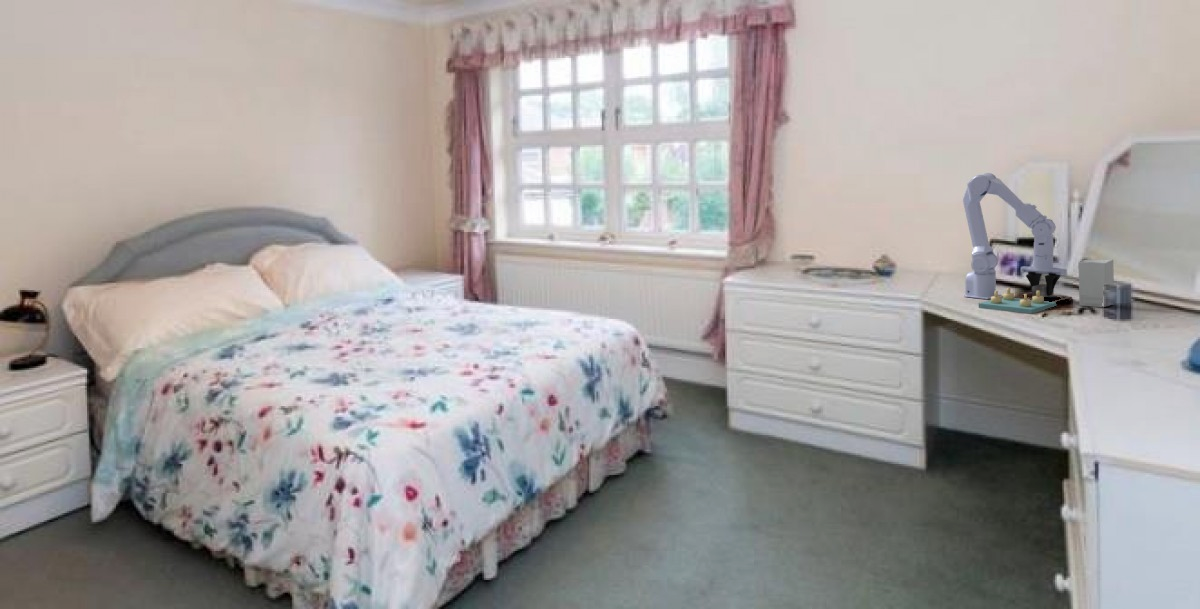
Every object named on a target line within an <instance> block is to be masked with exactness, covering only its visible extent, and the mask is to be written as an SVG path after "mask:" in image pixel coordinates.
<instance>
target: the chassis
mask: <svg viewBox="0 0 1200 609" xmlns="http://www.w3.org/2000/svg"><path fill="white" fill-rule="evenodd" d="M998 294H999V290H996V291H995V296H992V297H991V299H988V300H986V301H983V302H979V303H978V308H980V309H985V310H996V311H1004V312H1010V313H1011V312H1013V313H1022V314H1029V315H1032V314H1037V313H1039V311H1040V312H1043V311H1046V310H1045V309H1047V308H1050V307H1054V306H1056V307H1057V304H1056V302H1049V301H1044V297H1043V296H1040V291H1036V296H1033V297H1032V300H1030V299H1027V294H1028V293H1023V295H1024V299H1021V298H1014V297H1015V293H1014V292H1013V293H1012V292H1011V287H1007V288H1006V292H1005V293H1003V295H1002V296H998ZM1054 308H1055V307H1054ZM1050 309H1051V308H1050ZM1042 310H1043V311H1042ZM1047 310H1048V309H1047ZM1036 312H1037V313H1036Z"/></svg>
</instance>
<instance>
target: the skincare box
mask: <svg viewBox="0 0 1200 609" xmlns="http://www.w3.org/2000/svg"><path fill="white" fill-rule="evenodd" d="M1114 275H1115V274H1114V259H1088V258H1087V259H1083V260H1082V261H1079V262H1078V288H1079V289H1078V295H1079V296H1078V297H1079V298H1078V300H1079V302H1078V304H1079V307H1081V306H1083V307H1092V308H1093V307H1095V308H1103V307H1102V303H1103V286H1104V284H1105V283H1111V282H1114V283H1115V281H1114V280H1115V278H1114V277H1115V276H1114Z"/></svg>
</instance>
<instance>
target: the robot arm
mask: <svg viewBox="0 0 1200 609" xmlns="http://www.w3.org/2000/svg"><path fill="white" fill-rule="evenodd" d="M966 186H967V187H966V190H965V193H964V196H963V197H962V198H963V199H962V202H963V207H964V208H963V209H964V212H965V216H966V221H967V225H968V231H969V235H970V239H971V244H972V252H971V262H970V268H971V269H972V270H973V271H970V272H967V274H966V276H965V285H964V286H965V288H964V289H965V291H964V294H965V295H963V297H964V298H971V299H983V300H991V297H992V296H995V291H997V288H996V287H997V284H996V281H997V278H996V277H997V270H996V267H997V265H998V263H999V260H998V257H997V255H996V254H995V253H994V250H993V247H992V246H991V245H990V242H989V238H988V237H989V236H988V233H987V228H986V224H985V218H984V215H983V210H982V206H981V201H982V199H983V198H985V196H986V195H987V194H990V195H995V196H998V197H999V198H1001V199H1002V200H1003V201H1004V202H1005V203H1007V204H1008V205H1009V206H1010V207H1011V208H1013V209H1014V210H1015V216H1016V217H1017V218H1018V219H1019V220H1020V221H1021V222H1022V223H1023V224H1024V225H1025V226H1027V228H1029V229H1031V230H1030V231H1031V234H1032V235H1033V236H1034V238H1033V241H1034V242H1033V266H1029V265H1028V266H1020V273H1027V274H1025V277H1026V279H1027V280H1028V281H1029V282H1028V283H1029V284H1030V287H1031V288H1032V286H1036V285H1039V284H1040V281H1041V275H1042V274H1043V275H1044V278H1045V284H1046V285H1047V290H1046V292H1047V296H1050V295H1052V293H1053V290H1054V289H1055V287H1056V284H1057V283H1058V280H1059V279H1060V278H1061V276H1062V277H1063V276H1067V275H1068V274H1067V271H1068V270H1067V268H1060V267H1059V268H1058V267H1054V233H1055V231H1056V228H1057V227H1056V223H1055V222H1054V221H1053V219H1051V218H1048V217H1047V215H1043V214H1042V213H1041V212H1040V211H1039V210H1038V209H1037V205H1036V204H1031V203H1028V202H1026V203H1024V202H1023V201H1022V199H1020V198H1019V197H1018V196H1017V195H1016V194H1015V193H1014V192H1013V191H1012V190H1011V189H1010V188H1009V187H1008V186H1007V185H1006V184H1005V183H1004V182H1003V181H1002V180H1001V179H1000V178H999V177H997V176H996V175H995V174H993V173H991V172H985V173H983V174H977V175H974V176H972V178H971V179H969V181H968V182H967V185H966ZM1054 291H1055V290H1054ZM998 296H1000V297H1002V294H1000V293H998Z"/></svg>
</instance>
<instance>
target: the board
mask: <svg viewBox="0 0 1200 609" xmlns="http://www.w3.org/2000/svg"><path fill="white" fill-rule="evenodd" d="M1046 290H1047V285H1046V283H1039V285H1036V286H1032V287H1031V293H1032V297H1033V296H1036V291H1040V296H1043V297H1048V296H1047V292H1046ZM1054 292H1055V290H1053V293H1052V295H1050V296H1057V297H1060V298H1061V299H1059V300H1055V301H1052V302H1057V301H1060V300H1065V299H1070V300H1069V301H1071V300H1073V296H1069V295H1068V296H1067V295H1056V294H1055V293H1054ZM1022 295H1023V294H1021V295H1018V296H1014V298H1019V297H1023V296H1022ZM1063 297H1065V298H1063ZM1021 299H1024V298H1021ZM1027 299H1031V300H1032V298H1029V297H1028V298H1027Z"/></svg>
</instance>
